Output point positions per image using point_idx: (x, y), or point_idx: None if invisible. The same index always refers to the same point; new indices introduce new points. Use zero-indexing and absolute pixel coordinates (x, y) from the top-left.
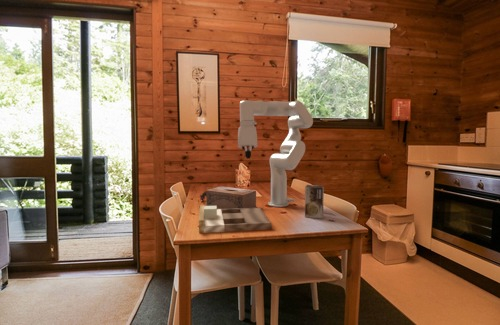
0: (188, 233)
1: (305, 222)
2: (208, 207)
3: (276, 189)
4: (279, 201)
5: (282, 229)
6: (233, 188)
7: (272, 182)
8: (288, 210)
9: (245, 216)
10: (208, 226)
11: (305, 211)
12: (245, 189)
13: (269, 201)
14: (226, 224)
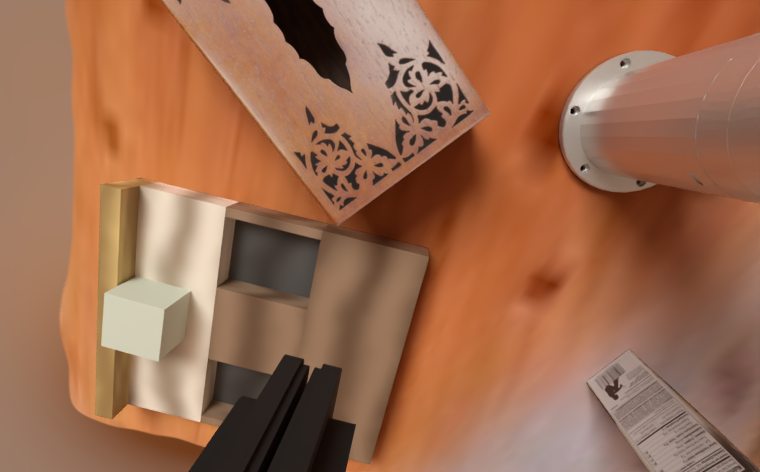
0: None
1: (536, 434)
2: (123, 327)
3: (650, 171)
4: (617, 174)
5: (408, 459)
6: None
7: (676, 132)
8: (592, 262)
9: (305, 364)
10: (146, 406)
11: (600, 402)
12: (428, 33)
13: (599, 68)
14: (208, 420)
